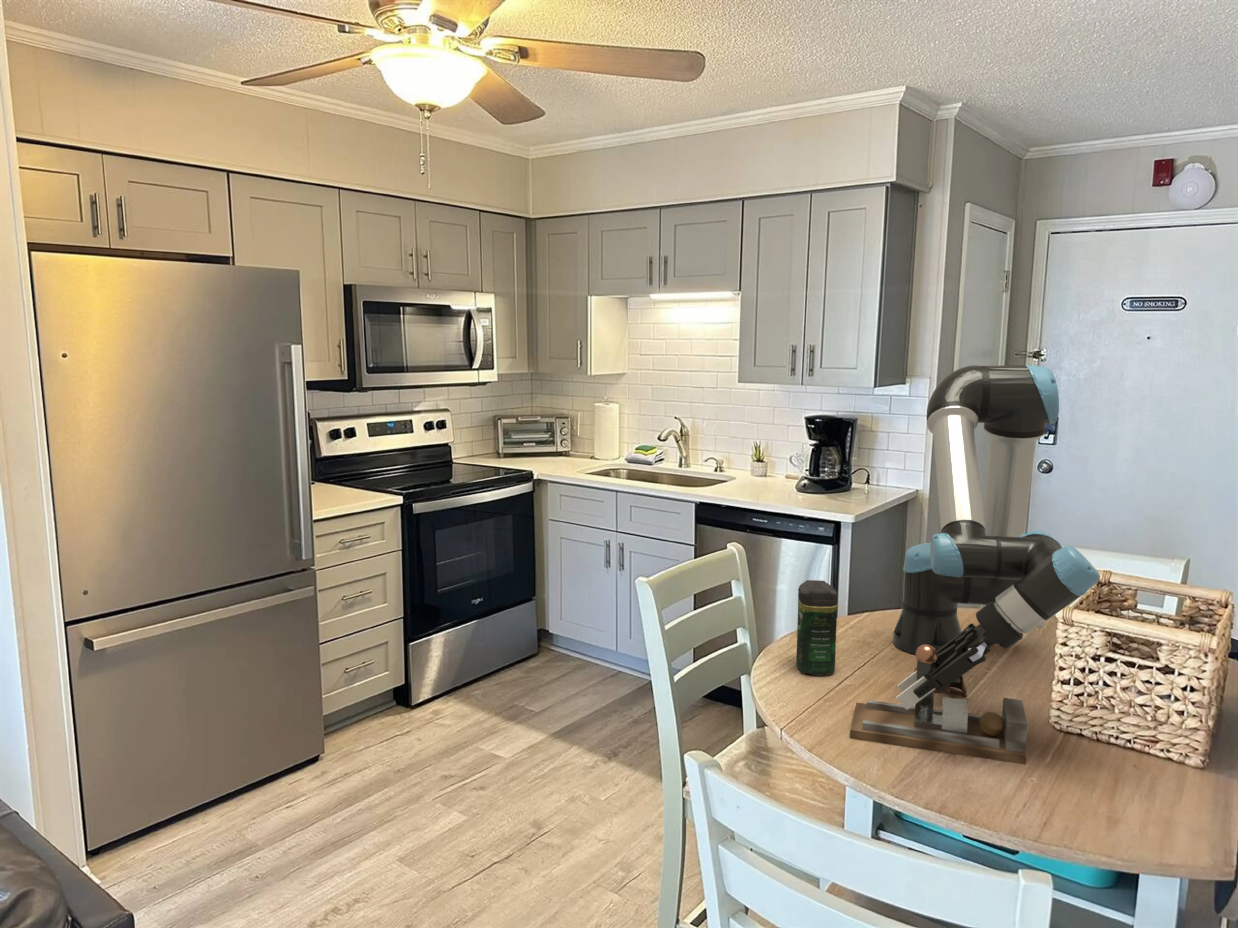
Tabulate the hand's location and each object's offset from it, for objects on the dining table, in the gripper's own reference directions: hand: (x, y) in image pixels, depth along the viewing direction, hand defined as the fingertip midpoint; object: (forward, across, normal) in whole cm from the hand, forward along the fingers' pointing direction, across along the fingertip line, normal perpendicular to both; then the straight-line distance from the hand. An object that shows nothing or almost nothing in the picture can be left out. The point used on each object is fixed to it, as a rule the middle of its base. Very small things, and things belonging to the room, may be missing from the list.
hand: (902, 696), depth 152 cm
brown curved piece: (0, +20, -9) cm, 22 cm away
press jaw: (-1, 0, -8) cm, 8 cm away
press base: (0, 0, -8) cm, 9 cm away
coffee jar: (+17, +24, +8) cm, 31 cm away
